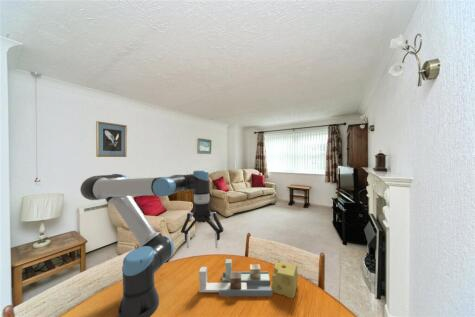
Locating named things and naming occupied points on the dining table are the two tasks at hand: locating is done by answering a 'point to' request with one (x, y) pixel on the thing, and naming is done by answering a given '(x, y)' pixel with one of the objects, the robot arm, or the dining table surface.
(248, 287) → the lane board
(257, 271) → the maple block
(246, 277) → the strip rear
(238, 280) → the walnut block
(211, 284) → the strip front
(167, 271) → the dining table surface
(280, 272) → the cheese
